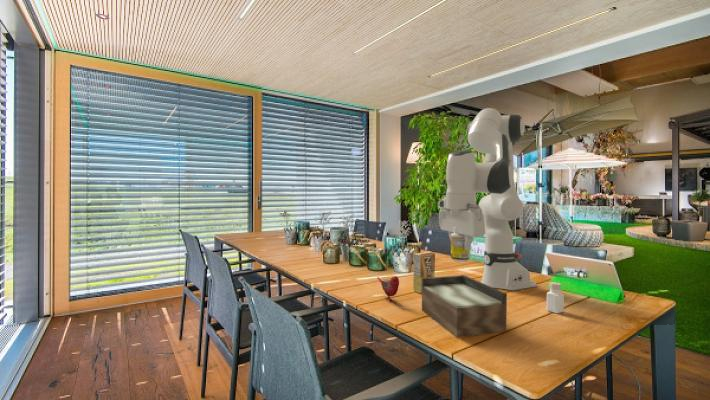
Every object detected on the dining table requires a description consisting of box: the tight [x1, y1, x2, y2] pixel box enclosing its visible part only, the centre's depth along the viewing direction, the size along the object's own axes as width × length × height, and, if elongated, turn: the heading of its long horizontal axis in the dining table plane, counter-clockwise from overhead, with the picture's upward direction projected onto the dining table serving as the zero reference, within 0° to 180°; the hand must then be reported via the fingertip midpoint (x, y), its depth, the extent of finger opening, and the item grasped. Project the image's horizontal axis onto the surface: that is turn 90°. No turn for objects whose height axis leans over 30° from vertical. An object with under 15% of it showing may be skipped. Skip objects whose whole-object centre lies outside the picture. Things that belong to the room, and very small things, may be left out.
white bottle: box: [546, 281, 565, 314], centre depth 115 cm, size 4×4×10 cm
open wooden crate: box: [421, 274, 508, 338], centre depth 107 cm, size 16×22×11 cm
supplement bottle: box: [450, 227, 471, 263], centre depth 105 cm, size 6×6×10 cm
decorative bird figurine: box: [377, 275, 400, 302], centre depth 128 cm, size 3×18×10 cm, turn 22°
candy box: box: [412, 251, 436, 294], centre depth 139 cm, size 9×4×15 cm, turn 129°
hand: (460, 248), depth 105 cm, fingers closed on supplement bottle, 5 cm apart
